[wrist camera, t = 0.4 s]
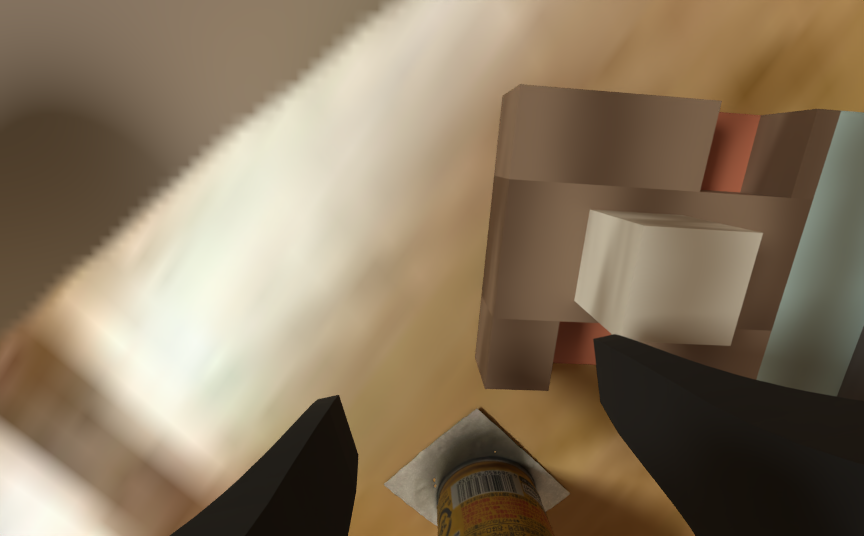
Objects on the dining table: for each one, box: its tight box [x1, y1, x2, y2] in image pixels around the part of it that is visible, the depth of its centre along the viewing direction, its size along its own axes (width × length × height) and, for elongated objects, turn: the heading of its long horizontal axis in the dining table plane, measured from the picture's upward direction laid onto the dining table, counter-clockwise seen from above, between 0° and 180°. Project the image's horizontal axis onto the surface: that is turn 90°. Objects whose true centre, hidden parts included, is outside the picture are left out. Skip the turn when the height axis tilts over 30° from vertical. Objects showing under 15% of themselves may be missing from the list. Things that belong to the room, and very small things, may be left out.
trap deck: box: [475, 84, 864, 401], centre depth 18 cm, size 18×13×4 cm
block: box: [574, 210, 763, 346], centre depth 15 cm, size 4×4×4 cm
